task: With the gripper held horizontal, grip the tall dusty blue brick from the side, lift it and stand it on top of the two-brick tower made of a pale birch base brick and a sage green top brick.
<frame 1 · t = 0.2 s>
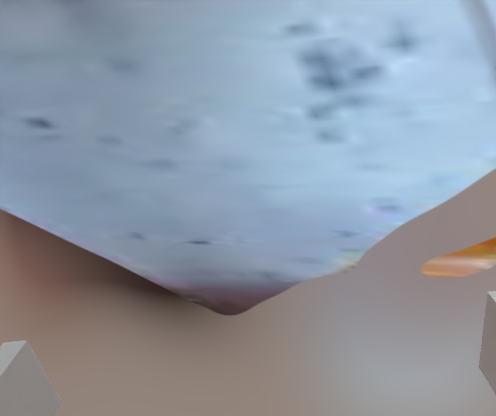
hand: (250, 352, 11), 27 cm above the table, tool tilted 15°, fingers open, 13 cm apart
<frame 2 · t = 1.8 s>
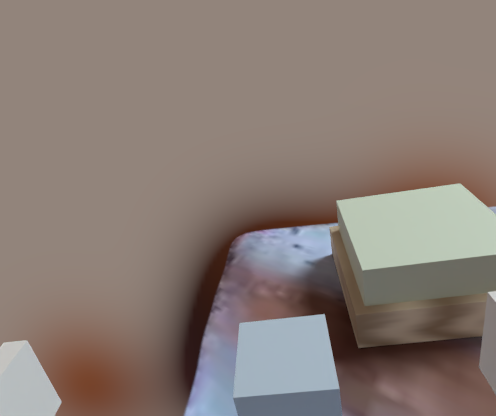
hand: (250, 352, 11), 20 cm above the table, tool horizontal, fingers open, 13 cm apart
base brick: (417, 284, 42), on the table
top brick: (417, 254, 41), resting on base brick
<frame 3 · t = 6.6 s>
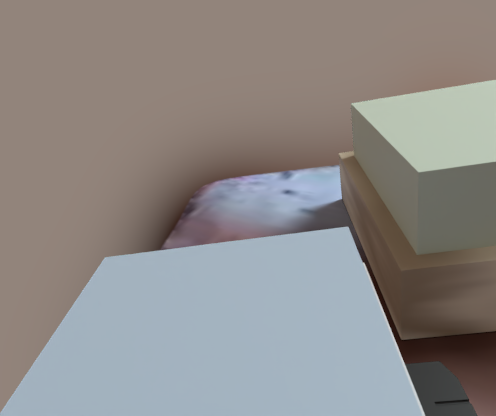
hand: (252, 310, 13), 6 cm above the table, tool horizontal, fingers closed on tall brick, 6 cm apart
base brick: (491, 233, 25), on the table
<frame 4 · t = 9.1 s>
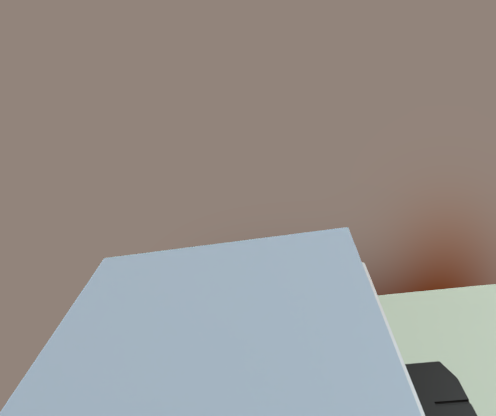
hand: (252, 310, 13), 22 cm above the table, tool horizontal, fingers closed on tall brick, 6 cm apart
top brick: (478, 395, 28), resting on base brick
when the fingers open (15 cm above the table, at t = 11.8 s): tall brick stays where it is, resting on top brick.
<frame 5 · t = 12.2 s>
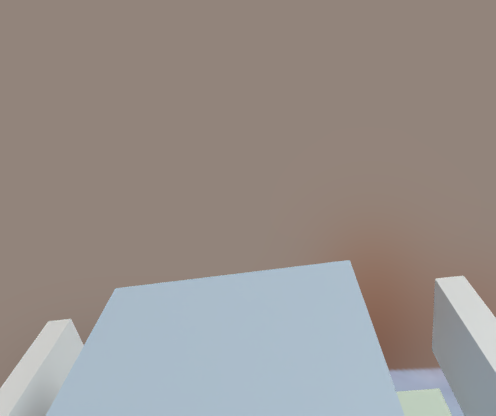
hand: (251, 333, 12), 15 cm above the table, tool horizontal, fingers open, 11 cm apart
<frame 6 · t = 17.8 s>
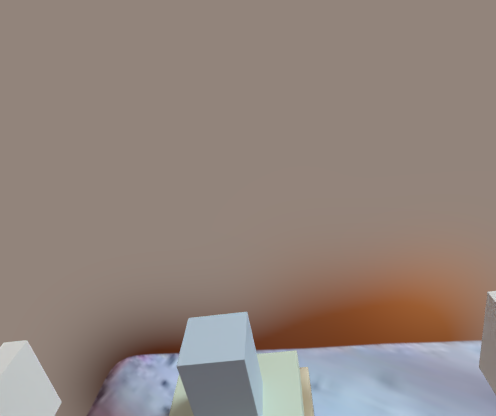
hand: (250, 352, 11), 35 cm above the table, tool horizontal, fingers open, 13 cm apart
tall brick: (234, 408, 40), point 8 cm above the table, touching top brick
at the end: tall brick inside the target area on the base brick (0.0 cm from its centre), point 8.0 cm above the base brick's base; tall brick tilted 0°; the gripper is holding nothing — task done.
